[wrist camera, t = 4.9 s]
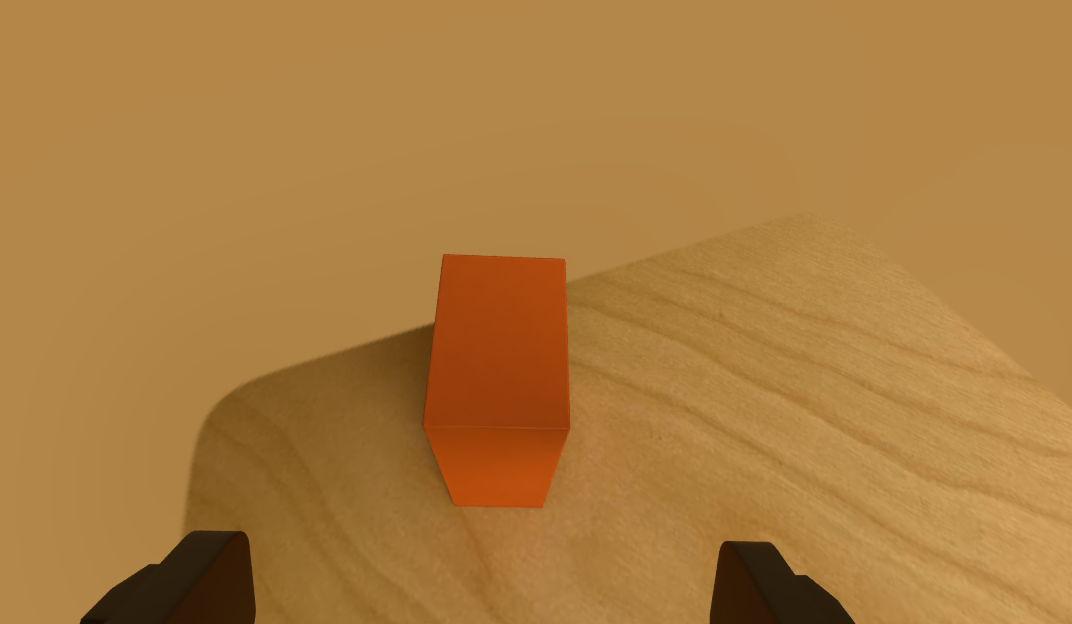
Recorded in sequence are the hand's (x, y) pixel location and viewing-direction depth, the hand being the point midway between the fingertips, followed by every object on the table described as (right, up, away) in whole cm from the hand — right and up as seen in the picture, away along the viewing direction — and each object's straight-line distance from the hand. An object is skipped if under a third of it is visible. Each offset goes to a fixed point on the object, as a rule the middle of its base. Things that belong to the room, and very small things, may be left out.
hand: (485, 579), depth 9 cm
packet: (-1, -1, +14) cm, 14 cm away
